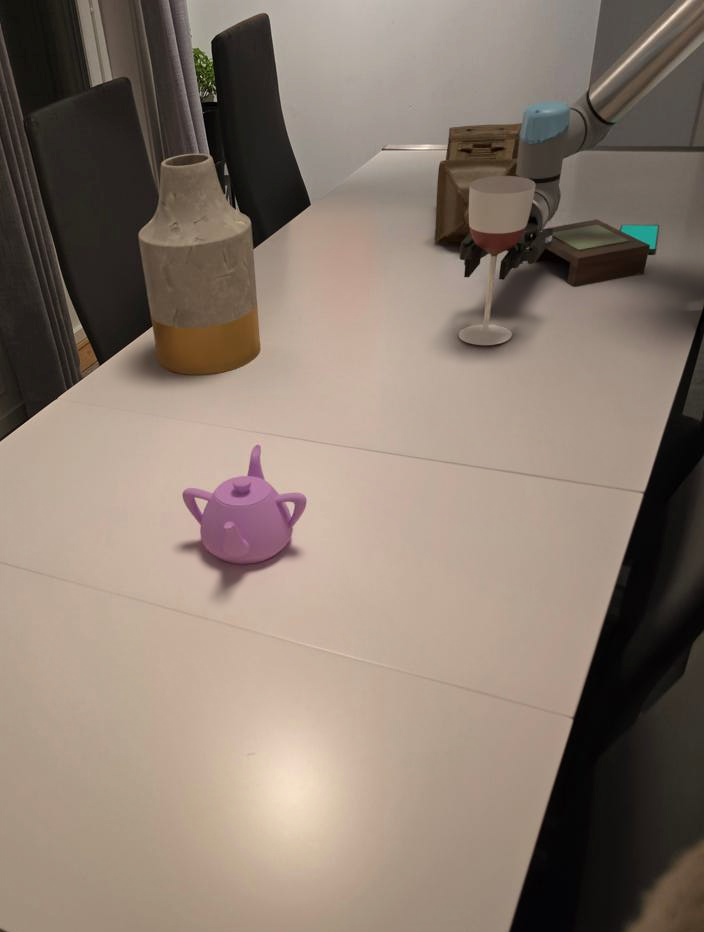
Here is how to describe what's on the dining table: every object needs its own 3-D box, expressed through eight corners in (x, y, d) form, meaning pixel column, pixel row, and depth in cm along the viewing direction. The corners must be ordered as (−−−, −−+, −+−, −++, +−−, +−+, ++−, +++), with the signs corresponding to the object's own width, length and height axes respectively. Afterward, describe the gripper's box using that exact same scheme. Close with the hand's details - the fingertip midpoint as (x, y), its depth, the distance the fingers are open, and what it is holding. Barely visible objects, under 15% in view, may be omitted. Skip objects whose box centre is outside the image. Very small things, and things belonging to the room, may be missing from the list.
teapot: (262, 502, 110) (258, 442, 104) (319, 553, 101) (317, 490, 95) (182, 532, 107) (172, 472, 101) (232, 588, 97) (225, 525, 91)
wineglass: (481, 351, 136) (498, 197, 121) (444, 331, 143) (456, 184, 128) (526, 337, 139) (549, 184, 123) (488, 318, 146) (505, 172, 130)
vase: (163, 382, 141) (132, 183, 121) (153, 340, 155) (123, 156, 134) (269, 364, 142) (256, 164, 122) (250, 325, 156) (235, 139, 135)
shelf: (643, 273, 155) (650, 243, 152) (573, 286, 154) (578, 257, 150) (591, 245, 168) (597, 218, 165) (526, 257, 167) (530, 229, 164)
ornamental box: (505, 271, 169) (531, 172, 156) (418, 260, 173) (436, 162, 159) (511, 214, 193) (534, 124, 180) (434, 206, 196) (451, 116, 183)
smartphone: (659, 224, 171) (656, 249, 161) (658, 229, 171) (655, 253, 161) (620, 224, 173) (615, 248, 163) (619, 228, 174) (614, 252, 164)
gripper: (570, 248, 143) (540, 298, 128) (467, 243, 150) (427, 290, 135) (578, 200, 138) (547, 246, 123) (471, 198, 145) (430, 241, 130)
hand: (484, 269), depth 129 cm, fingers closed on wineglass, 5 cm apart
